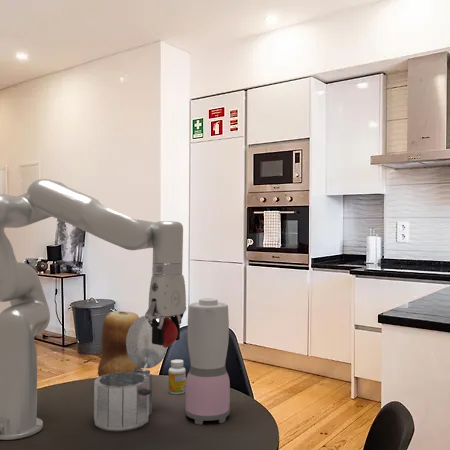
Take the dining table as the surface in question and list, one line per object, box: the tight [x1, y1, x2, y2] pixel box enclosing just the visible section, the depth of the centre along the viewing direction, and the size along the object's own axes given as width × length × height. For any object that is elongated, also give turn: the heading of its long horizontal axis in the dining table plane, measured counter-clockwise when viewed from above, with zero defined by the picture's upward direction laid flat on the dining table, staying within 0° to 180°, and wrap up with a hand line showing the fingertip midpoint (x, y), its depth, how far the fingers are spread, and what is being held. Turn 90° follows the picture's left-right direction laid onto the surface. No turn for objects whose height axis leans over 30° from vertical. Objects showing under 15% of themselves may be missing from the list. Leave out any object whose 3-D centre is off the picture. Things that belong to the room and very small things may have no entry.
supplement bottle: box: [167, 359, 187, 395], centre depth 157 cm, size 5×5×10 cm
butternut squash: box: [97, 310, 142, 377], centre depth 158 cm, size 14×13×25 cm
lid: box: [126, 315, 168, 374], centre depth 141 cm, size 16×15×2 cm
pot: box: [93, 372, 153, 432], centre depth 134 cm, size 16×18×11 cm
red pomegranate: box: [162, 317, 178, 349], centre depth 125 cm, size 6×6×8 cm
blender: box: [184, 298, 231, 426], centre depth 138 cm, size 16×12×32 cm
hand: (165, 341), depth 125 cm, fingers closed on red pomegranate, 5 cm apart
